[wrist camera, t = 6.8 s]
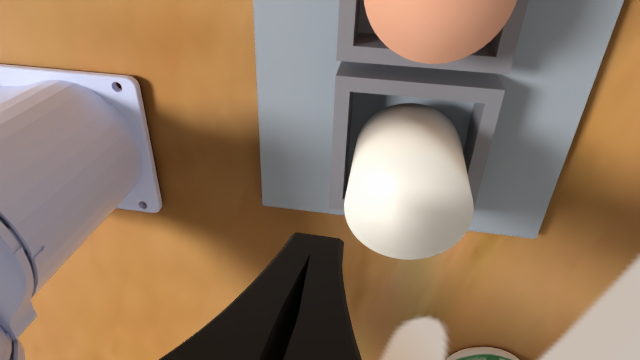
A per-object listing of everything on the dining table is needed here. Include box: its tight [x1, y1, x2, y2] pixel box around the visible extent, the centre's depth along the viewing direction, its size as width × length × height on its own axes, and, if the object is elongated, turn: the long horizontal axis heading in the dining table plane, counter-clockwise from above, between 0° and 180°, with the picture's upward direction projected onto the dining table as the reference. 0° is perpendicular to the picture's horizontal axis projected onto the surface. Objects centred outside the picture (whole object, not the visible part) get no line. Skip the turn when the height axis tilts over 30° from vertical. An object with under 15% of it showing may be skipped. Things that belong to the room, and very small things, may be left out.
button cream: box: [344, 103, 474, 260], centre depth 18 cm, size 4×4×4 cm
